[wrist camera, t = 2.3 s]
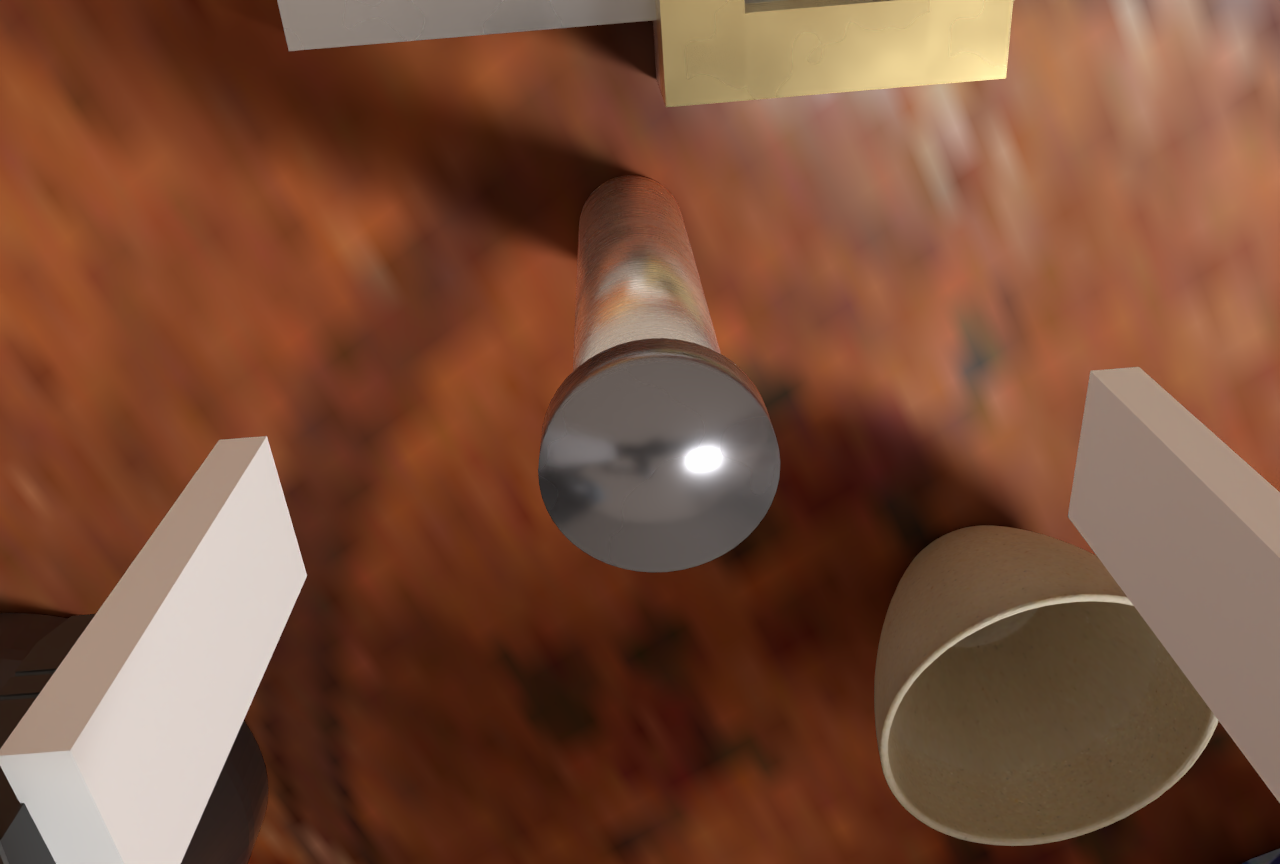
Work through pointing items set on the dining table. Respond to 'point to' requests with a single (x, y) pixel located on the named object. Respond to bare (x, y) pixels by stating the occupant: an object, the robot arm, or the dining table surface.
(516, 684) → the dining table surface
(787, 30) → the bar with brass collar
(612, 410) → the pin
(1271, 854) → the table lamp
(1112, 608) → the flower pot
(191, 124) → the dining table surface
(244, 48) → the dining table surface
